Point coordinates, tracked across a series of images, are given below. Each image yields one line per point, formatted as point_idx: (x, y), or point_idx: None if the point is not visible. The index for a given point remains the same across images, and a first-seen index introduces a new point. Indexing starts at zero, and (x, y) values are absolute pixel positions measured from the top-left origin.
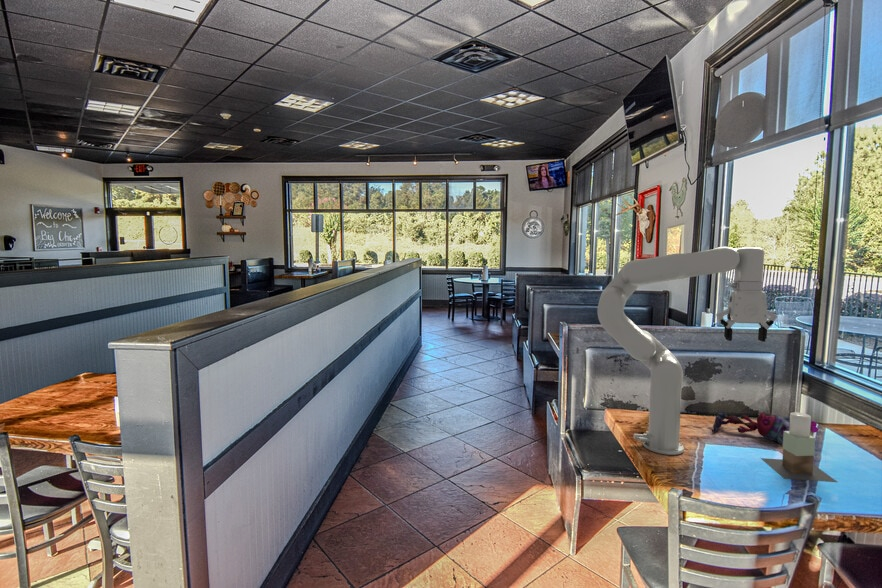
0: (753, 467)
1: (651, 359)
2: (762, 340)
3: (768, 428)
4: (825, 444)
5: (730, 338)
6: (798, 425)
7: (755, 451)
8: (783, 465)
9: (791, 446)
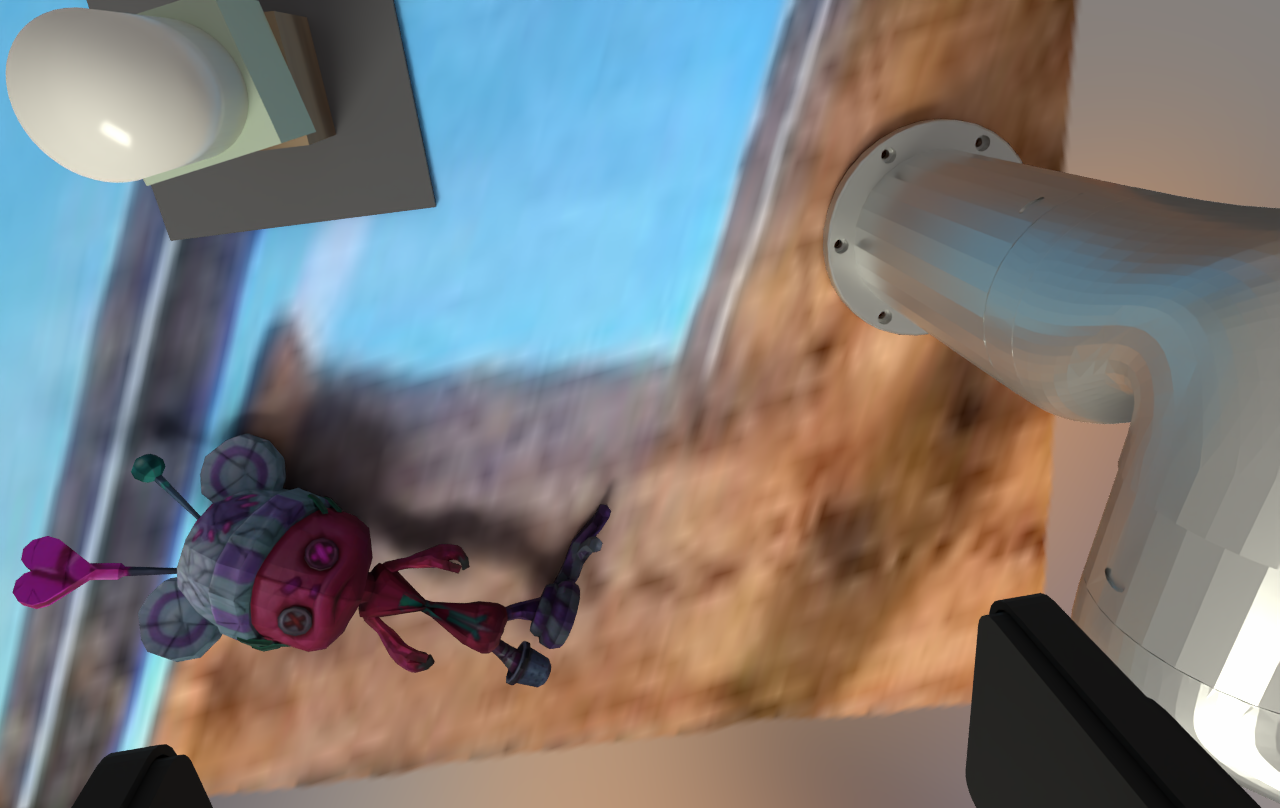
0: (505, 67)
1: None
2: (176, 768)
3: (316, 522)
4: (29, 537)
5: (1062, 625)
6: (160, 23)
7: (434, 321)
8: (332, 120)
9: (265, 50)
